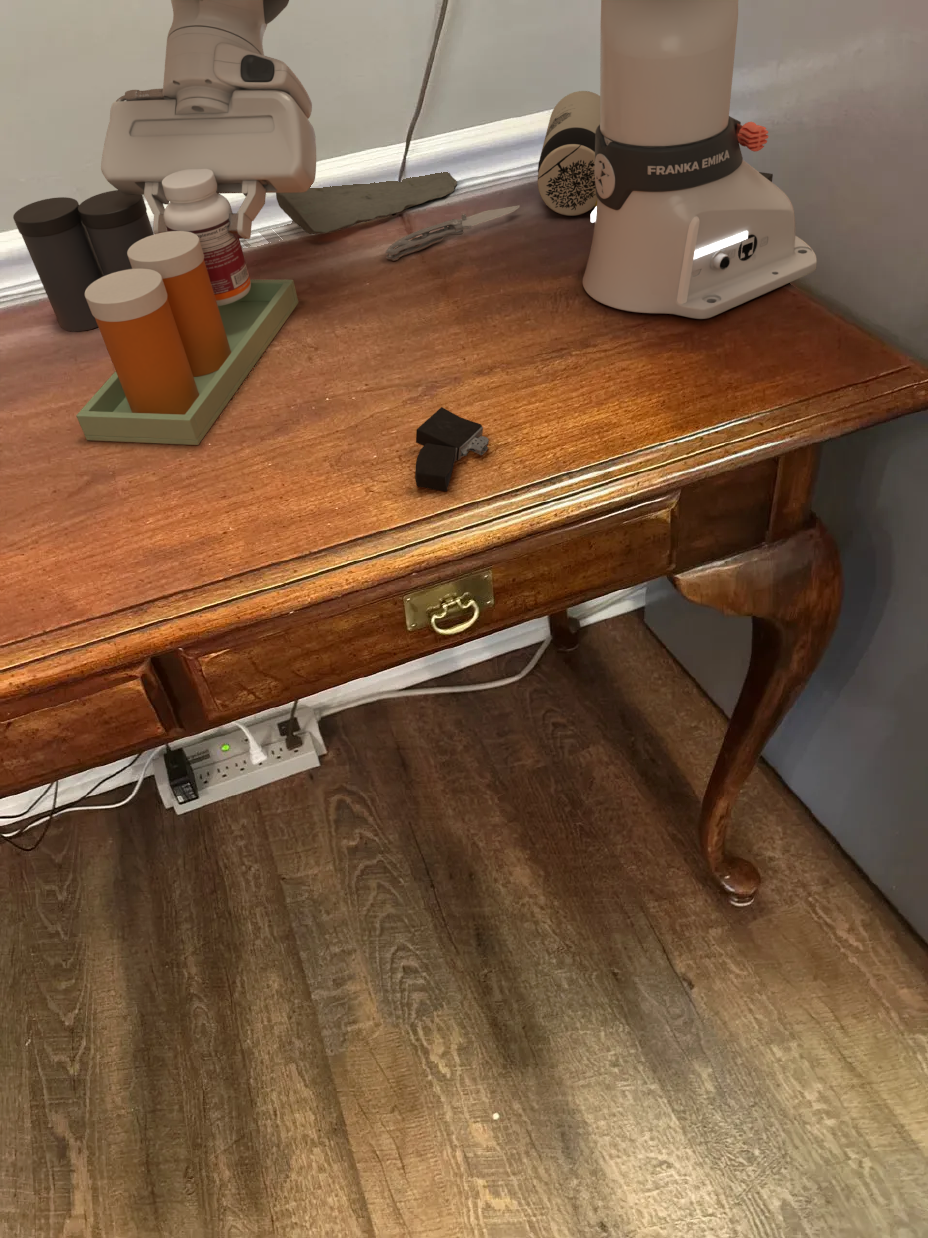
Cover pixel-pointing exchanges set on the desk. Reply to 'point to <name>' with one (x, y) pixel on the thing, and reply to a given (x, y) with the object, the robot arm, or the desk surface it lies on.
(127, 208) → the grey canister
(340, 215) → the stone slab
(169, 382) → the bottle
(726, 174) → the robot arm
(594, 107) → the travel mug
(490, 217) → the knife
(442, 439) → the lighter
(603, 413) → the desk surface
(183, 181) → the pill bottle
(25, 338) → the desk surface
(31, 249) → the grey canister
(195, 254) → the bottle
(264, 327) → the tray
